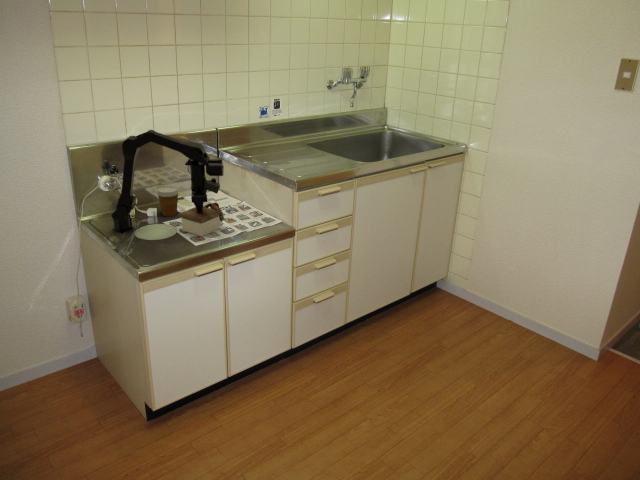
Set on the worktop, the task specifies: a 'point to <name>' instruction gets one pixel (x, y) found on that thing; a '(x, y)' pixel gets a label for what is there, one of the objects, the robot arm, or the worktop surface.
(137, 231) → the sage mat
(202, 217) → the walnut lid
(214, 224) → the cream open box
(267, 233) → the worktop surface
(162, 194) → the disposable coffee cup
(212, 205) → the brown curved piece
